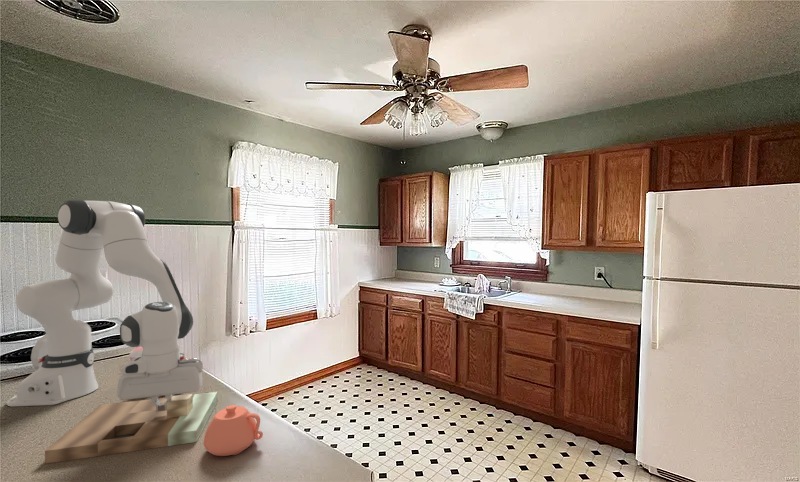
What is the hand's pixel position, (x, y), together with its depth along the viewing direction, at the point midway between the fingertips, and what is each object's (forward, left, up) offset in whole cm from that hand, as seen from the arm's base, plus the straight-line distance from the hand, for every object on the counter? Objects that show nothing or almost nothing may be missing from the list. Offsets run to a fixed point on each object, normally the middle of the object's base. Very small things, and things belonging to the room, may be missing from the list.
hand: (162, 410), depth 101 cm
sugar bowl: (+21, -17, -5) cm, 28 cm away
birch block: (+4, 0, -1) cm, 5 cm away
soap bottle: (-59, +64, -5) cm, 87 cm away
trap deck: (-5, 0, -4) cm, 6 cm away
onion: (-29, +61, -5) cm, 68 cm away
